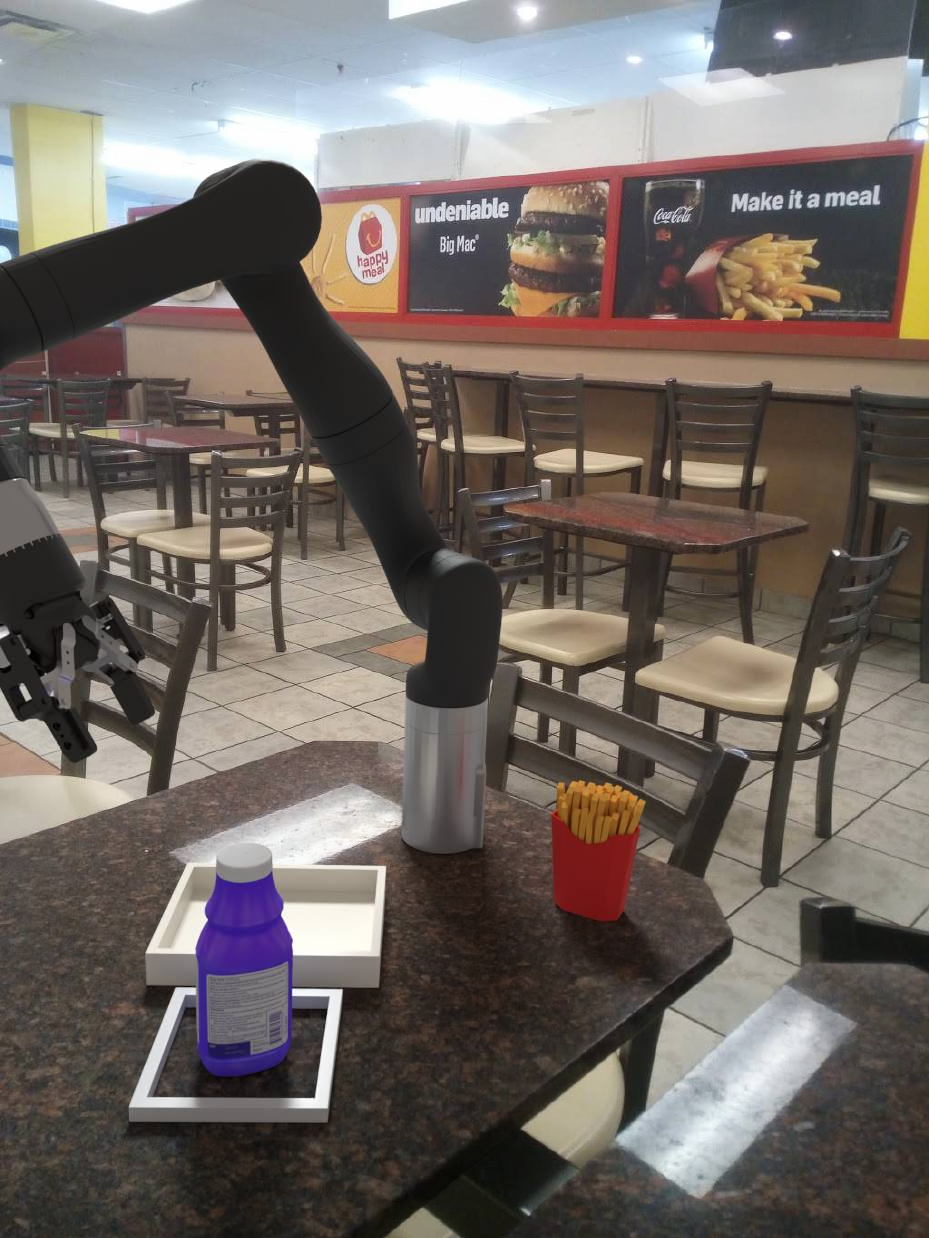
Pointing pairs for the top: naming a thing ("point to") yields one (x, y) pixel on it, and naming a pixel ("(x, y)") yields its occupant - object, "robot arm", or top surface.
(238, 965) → the bottle
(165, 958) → the tray
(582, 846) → the french fries
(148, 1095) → the frame
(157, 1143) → the top surface
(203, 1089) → the top surface
